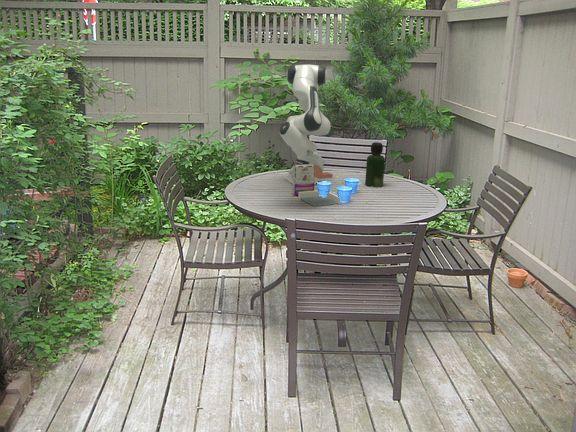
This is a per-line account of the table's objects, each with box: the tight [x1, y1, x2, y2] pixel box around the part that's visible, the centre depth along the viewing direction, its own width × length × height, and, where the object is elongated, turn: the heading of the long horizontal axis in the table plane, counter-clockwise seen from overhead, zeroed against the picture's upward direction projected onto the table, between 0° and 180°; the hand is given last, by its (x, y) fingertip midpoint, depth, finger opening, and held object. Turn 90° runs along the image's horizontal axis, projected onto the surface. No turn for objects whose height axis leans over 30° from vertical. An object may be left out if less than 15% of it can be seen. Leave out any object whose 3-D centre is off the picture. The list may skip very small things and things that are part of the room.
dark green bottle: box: [364, 141, 386, 188], centre depth 370 cm, size 10×10×25 cm
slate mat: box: [299, 197, 340, 207], centre depth 332 cm, size 16×14×1 cm
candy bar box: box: [291, 164, 315, 197], centre depth 343 cm, size 11×5×16 cm, turn 105°
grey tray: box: [297, 190, 342, 205], centre depth 332 cm, size 18×16×4 cm
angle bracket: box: [314, 165, 333, 180], centre depth 326 cm, size 5×8×9 cm, turn 116°
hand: (319, 167), depth 324 cm, fingers closed on angle bracket, 5 cm apart
